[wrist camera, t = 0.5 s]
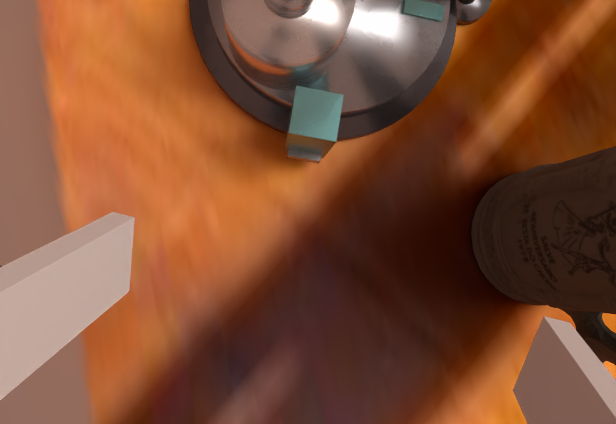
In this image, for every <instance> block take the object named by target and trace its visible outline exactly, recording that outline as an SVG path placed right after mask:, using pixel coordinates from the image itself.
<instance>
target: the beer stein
mask: <svg viewBox="0 0 616 424" xmlns="http://www.w3.org/2000/svg"><path fill="white" fill-rule="evenodd" d="M471 237H472V246H473V252H474V255H475V257H476V260H477V262H478V265H479V267H480V270H481V271H482V272H483V274H484V275H485V277H486V278H487V279H488V280H489V281H490V283H491V284H492V285H493V286H494V287H495V288H496V289H497V290H498V291H499V292H501V293H503V294H504V295H506V296H508V297H510V298H511V299H514V300H517V301H520V302H522V303H526V304H531V305H548V306H550V307H554V308H559V309H561V310H563V311H564V312H566V313H567V314H568V315H570V316H571V318H572V319H573V321H574V323H575V326H576V331H577V332H578V334H579V335H580V336H581V337H582V339H583V340H584V341H585V342H586V344H587V345H588V346H589V347H590V349H591V350H592V351H593V352H594V354H595V355H596V356H597V357H598V359H599V360H600V361H601V362H602V364H603V363H604V362H605V361H609V362H611V363H613V364H615V365H616V333H614V332H613V331H611V330H610V329H609V328H608V327H607V326H606V325H605V324H604V322H603V320H602V314H603V313H610V314H616V146H615V147H612V148H608V149H604V150H601V151H597V152H594V153H591V154H588V155H585V156H581V157H578V158H575V159H572V160H569V161H565V162H562V163H558V164H547V165H539V166H536V167H534V168H532V169H529V170H527V171H524V172H519V173H516V174H513V175H510V176H507V177H506V178H504V179H502V180H500V181H498V182H497V183H496V184H495V185H494V186H492V187H491V188H490V189H489V190H488V191H487V192H486V194H485V195H484V196H483V198H482V199H481V201H480V202H479V204H478V206H477V207H476V211H475V214H474V217H473V220H472V229H471Z"/></svg>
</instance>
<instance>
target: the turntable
mask: <svg viewBox="0 0 616 424" xmlns="http://www.w3.org/2000/svg"><path fill="white" fill-rule="evenodd" d="M207 1H208V7H209V12H210V17H211V21H212V25H213V29H214V32H215V35H216V38H217V41H218V43H219V45H220V48H221V50H222V52H223V54H224V56H225V57H226V59H227V60H228V62H229V64H230V65H231V67H232V68H233V69H234V71H235V72H236V73H237V74H238V75H239V77H240V78H241V79H242V80H243V81H244V82H245V83H246V84H247V85H248V86H249V87H250V88H251V89H252V90H254V91H255V92H256V93H258V94H259V95H260V96H262V97H263V98H264V99H266V100H268V101H269V102H271V103H273V104H275V105H277V106H278V107H281V108H283V109H286V110H288V111H290V116H289V122H288V128H287V134H286V140H285V146H284V151H286V152H288V153H287V158H291V159H297V160H302V161H308V162H313V163H319V162H320V159H321V158H324V156H325V155H326V154H327V153H328V151H329V150H330V149H331V148H332V146H333V145H334V144H335V143H336V141H337V134H338V128H339V122H340V118H348V117H355V116H358V115H362V114H365V113H369V112H371V111H374V110H376V109H378V108H381V107H383V106H384V105H386V104H388V103H389V102H391V101H393V100H394V99H396V98H397V97H398V96H399V95H401V94H402V93H403V92H404V91H406V90H407V89H408V88H409V87H410V86H411V85H412V84H413V83H414V82H415V81H416V80H417V79H418V77H419V76H420V75H421V74H422V73H423V72H424V71H425V70H426V69H427V67H428V66H429V64H430V63H431V61H432V60H433V59H434V57H435V55H436V53H437V51H438V49H439V47H440V45H441V43H442V40H443V37H444V35H445V32H446V28H447V23H448V18H449V11H450V0H355V8H354V13H353V16H352V19H351V22H350V24H349V26H348V29H347V31H346V33H345V36H344V38H343V41H342V43H341V45H340V48H339V50H338V53H337V55H336V57H335V59H334V62H333V64H332V65H331V67H330V68H329V70H328V71H327V72H326V73H325V74H324V75H323V76H322V77H321V78H320V79H319V80H317V81H316V82H314V83H313V84H311V85H308V86H306V87H301V86H296V89H295V90H276V89H271V88H268V87H265V86H262V85H261V84H259V83H257V82H255V81H253V80H252V79H250V78H249V77H248V76H247V75H246V74H245V73H244V72H243V71H242V70H241V69H240V68H239V66H238V65H237V63H236V62H235V60H234V58H233V56H232V54H231V51H230V49H229V44H228V39H227V33H226V27H225V21H224V15H223V10H222V4H221V0H207Z"/></svg>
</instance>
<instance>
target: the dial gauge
mask: <svg viewBox="0 0 616 424" xmlns="http://www.w3.org/2000/svg"><path fill="white" fill-rule="evenodd" d="M455 1H456V3H455V4H454V5H455V6H454V8H452V9H456V12H454V13H455V15H454V14H452V13H453V12H451V11H452V10H451V11H450V12H451V15H454V17H456V18H457V22H456V24H458V25H468V24H472V23H474V22H476V21H477V20H479V19H480V18H481V17H482V16H483V15H484V14H485V13H486V11H487V10H488V8H489V7H490V4H491V0H455ZM452 3H454V2H453V1H452ZM452 3H451V4H452ZM452 7H453V5H452ZM455 7H456V8H455ZM454 11H455V10H454Z"/></svg>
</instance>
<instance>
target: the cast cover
mask: <svg viewBox="0 0 616 424" xmlns="http://www.w3.org/2000/svg"><path fill="white" fill-rule="evenodd" d="M221 4H222V10H223V15H224V21H225V27H226V33H227V39H228V44H229V49H230V51H231V54H232V56H233V58H234V60H235V62H236V63H237V65H238V66H239V68H240V69H241V70H242V71H243V72H244V73H245V74H246V75H247V76H248V77H249V78H250V79H252V80H253V81H255V82H257V83H259V84H261V85H262V86H265V87H268V88H271V89H276V90H295V89H296V86H301V87H306V86H308V85H311V84H313V83H314V82H316V81H317V80H319V79H320V78H321V77H322V76H323V75H324V74H325V73H326V72H327V71H328V70H329V68H330V67H331V65H332V64H333V62H334V59H335V57H336V55H337V53H338V50H339V48H340V45H341V43H342V41H343V38H344V36H345V33H346V31H347V29H348V26H349V24H350V22H351V19H352V16H353V13H354V8H355V0H221Z"/></svg>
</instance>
